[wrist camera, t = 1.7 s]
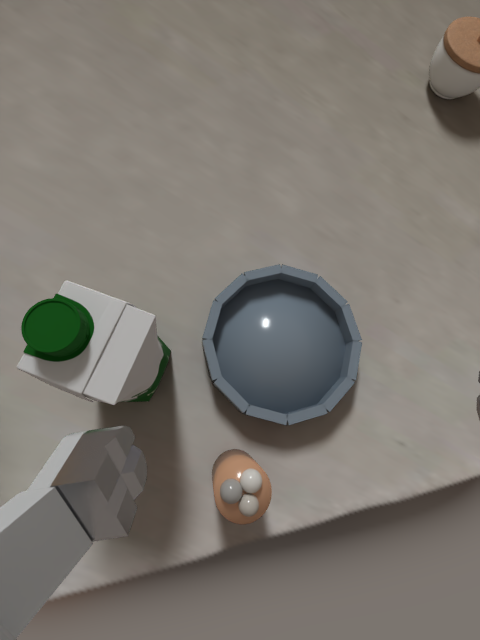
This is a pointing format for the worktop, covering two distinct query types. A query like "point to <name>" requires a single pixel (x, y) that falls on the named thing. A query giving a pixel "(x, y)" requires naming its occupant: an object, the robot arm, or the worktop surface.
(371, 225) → the worktop surface
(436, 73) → the lidded jar
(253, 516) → the pebble cup
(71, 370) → the milk carton
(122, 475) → the robot arm
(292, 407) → the slate bowl
